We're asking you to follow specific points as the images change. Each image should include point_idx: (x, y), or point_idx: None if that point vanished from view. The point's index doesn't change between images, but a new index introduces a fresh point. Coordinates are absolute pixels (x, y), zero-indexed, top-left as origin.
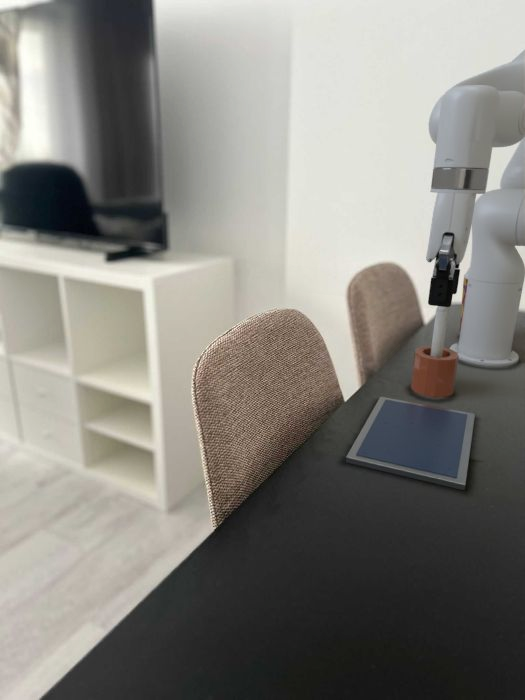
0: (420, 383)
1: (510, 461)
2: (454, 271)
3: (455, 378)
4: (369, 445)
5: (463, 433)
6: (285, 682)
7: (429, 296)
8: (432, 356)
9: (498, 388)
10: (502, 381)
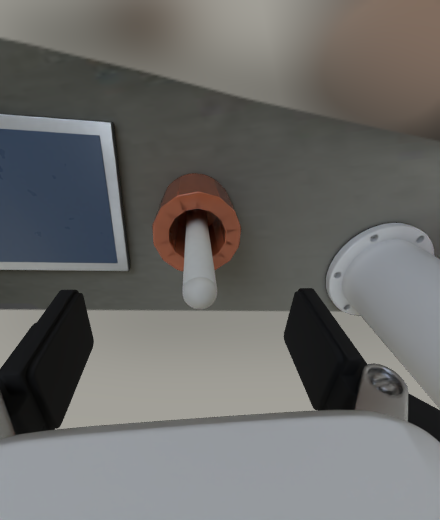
0: (163, 197)
1: (37, 302)
2: (316, 398)
3: None
4: None
5: (51, 261)
6: None
7: (48, 309)
8: (187, 227)
9: (250, 290)
10: (278, 294)
